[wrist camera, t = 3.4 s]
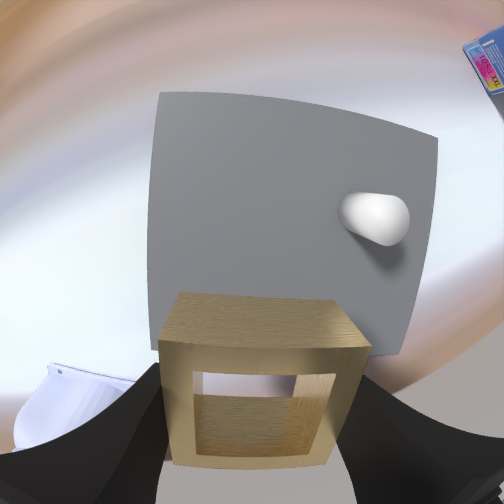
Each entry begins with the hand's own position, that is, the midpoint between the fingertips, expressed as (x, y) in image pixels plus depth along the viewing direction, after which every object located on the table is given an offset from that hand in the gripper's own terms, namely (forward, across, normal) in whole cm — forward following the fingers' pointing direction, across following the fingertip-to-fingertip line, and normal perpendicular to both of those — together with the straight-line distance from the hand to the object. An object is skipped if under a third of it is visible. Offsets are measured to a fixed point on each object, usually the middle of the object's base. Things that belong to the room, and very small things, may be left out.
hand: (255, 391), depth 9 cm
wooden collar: (+2, 0, 0) cm, 2 cm away
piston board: (+9, -3, -4) cm, 10 cm away
